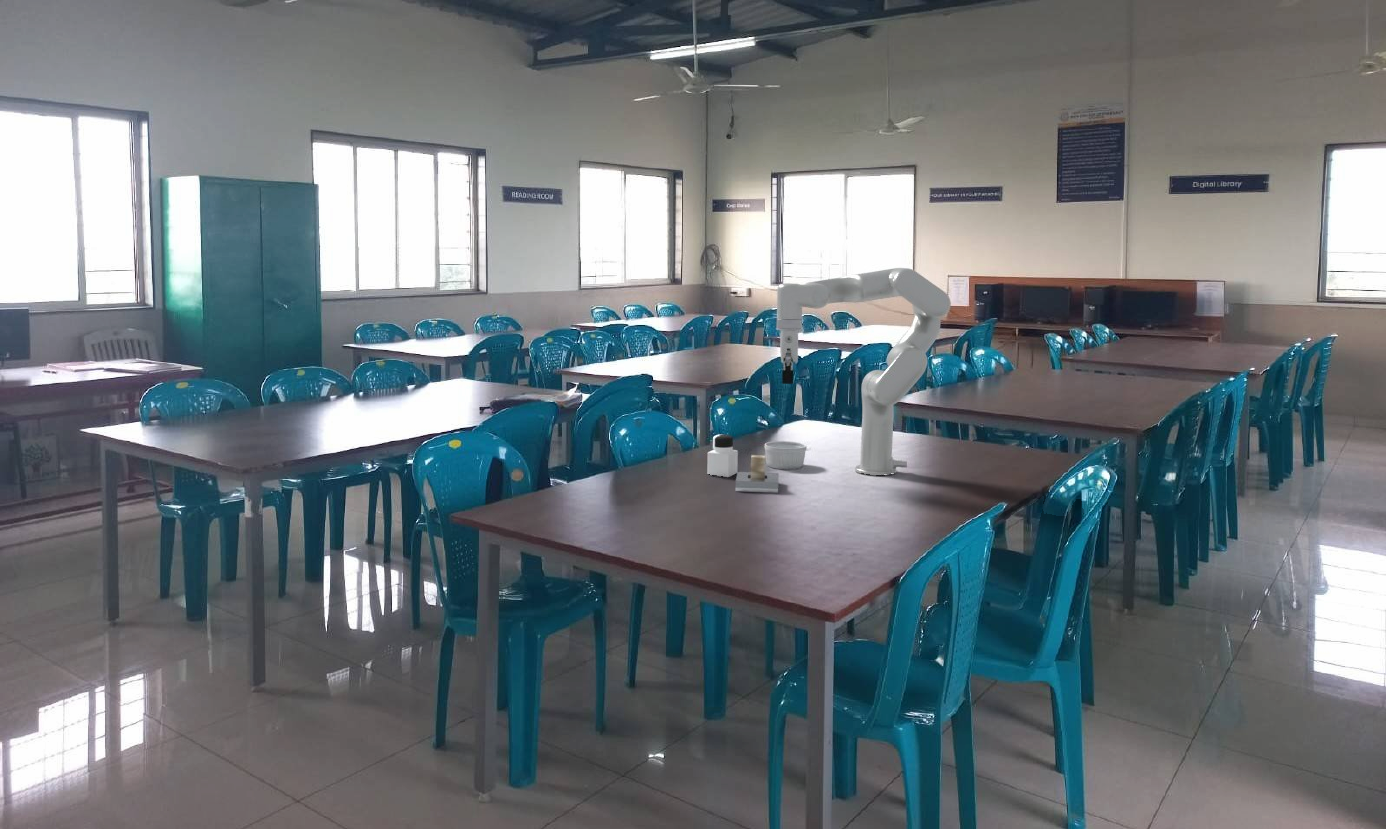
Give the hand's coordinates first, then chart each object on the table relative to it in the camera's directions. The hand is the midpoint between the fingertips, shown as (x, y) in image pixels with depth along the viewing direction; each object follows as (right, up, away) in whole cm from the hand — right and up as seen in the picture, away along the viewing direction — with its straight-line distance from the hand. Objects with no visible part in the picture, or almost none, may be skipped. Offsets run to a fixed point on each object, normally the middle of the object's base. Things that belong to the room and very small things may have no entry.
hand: (787, 381), depth 312 cm
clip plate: (-10, -31, -15) cm, 36 cm away
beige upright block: (-10, -30, -15) cm, 35 cm away
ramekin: (+1, -27, +15) cm, 31 cm away
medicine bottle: (-20, -28, +2) cm, 34 cm away
